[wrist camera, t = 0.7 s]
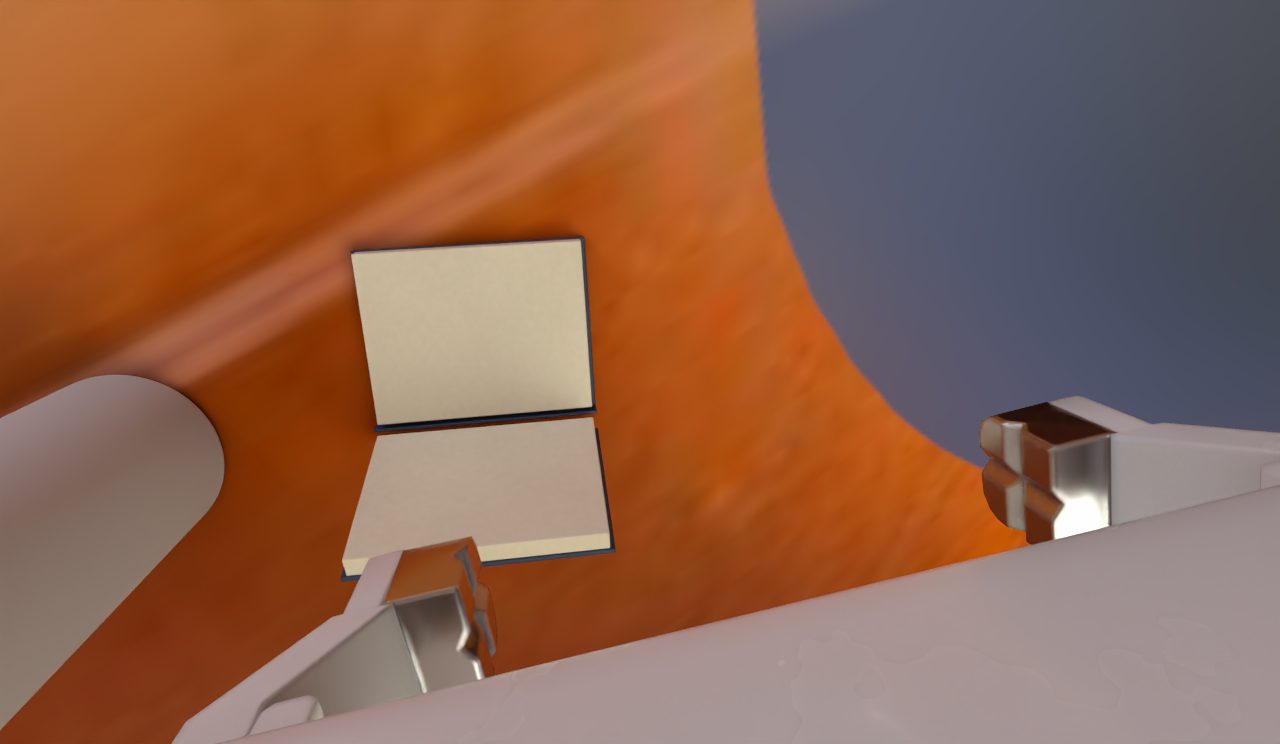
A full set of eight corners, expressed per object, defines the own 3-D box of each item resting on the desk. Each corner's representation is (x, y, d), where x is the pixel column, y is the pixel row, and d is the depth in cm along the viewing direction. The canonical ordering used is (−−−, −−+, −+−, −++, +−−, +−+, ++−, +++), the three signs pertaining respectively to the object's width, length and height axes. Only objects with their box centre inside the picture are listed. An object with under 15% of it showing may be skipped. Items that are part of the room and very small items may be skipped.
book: (351, 250, 51) (345, 253, 49) (583, 236, 52) (585, 238, 51) (378, 424, 54) (374, 432, 53) (595, 406, 56) (596, 413, 55)
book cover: (335, 562, 42) (341, 582, 43) (614, 533, 44) (615, 553, 45) (373, 432, 53) (378, 450, 54) (596, 413, 54) (597, 431, 55)
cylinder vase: (181, 561, 55) (-93, 867, 31) (8, 483, 52) (-444, 757, 28) (259, 427, 53) (30, 645, 29) (84, 337, 50) (-333, 500, 26)
